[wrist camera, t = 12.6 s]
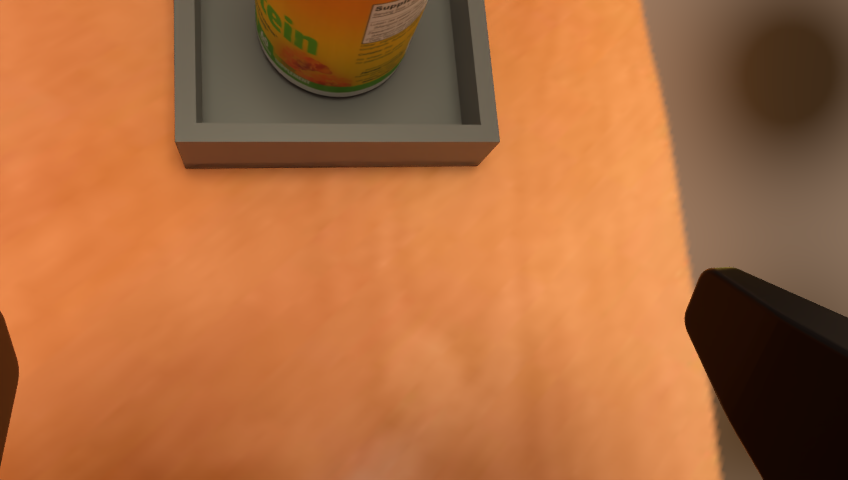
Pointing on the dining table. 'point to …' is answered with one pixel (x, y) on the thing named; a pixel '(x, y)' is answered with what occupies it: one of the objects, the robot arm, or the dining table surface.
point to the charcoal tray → (331, 116)
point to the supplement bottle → (337, 41)
